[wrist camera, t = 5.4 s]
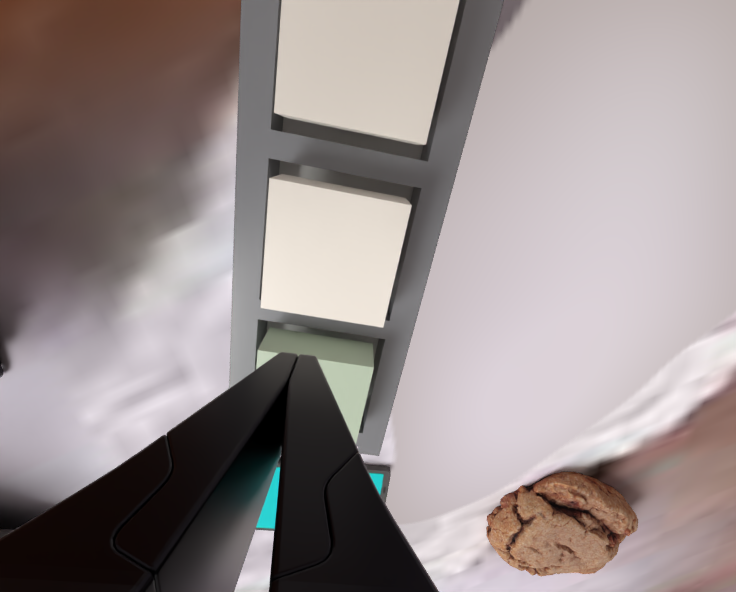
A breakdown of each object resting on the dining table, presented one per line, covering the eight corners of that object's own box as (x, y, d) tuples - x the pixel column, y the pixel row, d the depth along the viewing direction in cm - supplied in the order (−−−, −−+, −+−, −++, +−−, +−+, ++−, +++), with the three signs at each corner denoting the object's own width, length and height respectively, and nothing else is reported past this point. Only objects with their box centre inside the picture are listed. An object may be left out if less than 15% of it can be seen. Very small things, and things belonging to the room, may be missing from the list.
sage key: (355, 421, 19) (354, 451, 17) (262, 408, 18) (251, 437, 16) (372, 343, 17) (373, 367, 15) (269, 327, 16) (257, 350, 14)
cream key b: (381, 306, 16) (383, 327, 14) (272, 288, 15) (260, 308, 14) (405, 197, 14) (411, 205, 12) (282, 173, 13) (269, 178, 12)
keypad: (381, 412, 22) (384, 456, 19) (242, 393, 22) (221, 435, 18) (571, -320, 11) (660, -519, 8) (284, -416, 10) (247, -684, 7)
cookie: (464, 501, 26) (476, 542, 24) (598, 447, 24) (628, 486, 22) (512, 565, 30) (527, 607, 27) (633, 523, 28) (663, 565, 25)
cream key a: (417, 144, 13) (426, 144, 11) (286, 117, 13) (273, 112, 11) (454, -20, 11) (471, -53, 9) (301, -58, 11) (288, -100, 9)
